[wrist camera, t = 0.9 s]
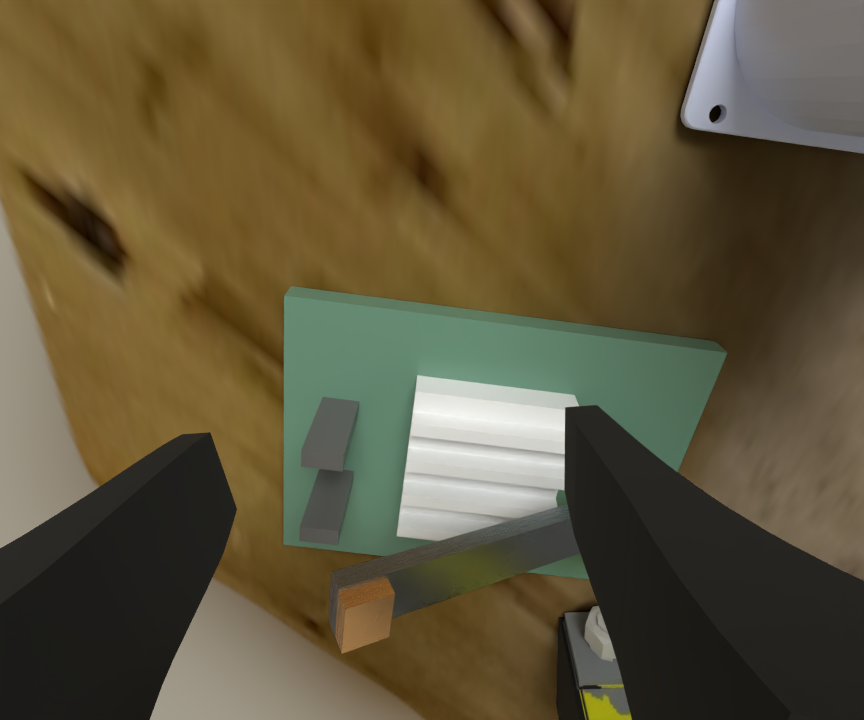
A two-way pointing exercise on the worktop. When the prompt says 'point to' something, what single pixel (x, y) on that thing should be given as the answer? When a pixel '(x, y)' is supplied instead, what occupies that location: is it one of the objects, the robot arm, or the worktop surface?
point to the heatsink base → (459, 415)
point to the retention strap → (442, 573)
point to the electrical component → (588, 670)
